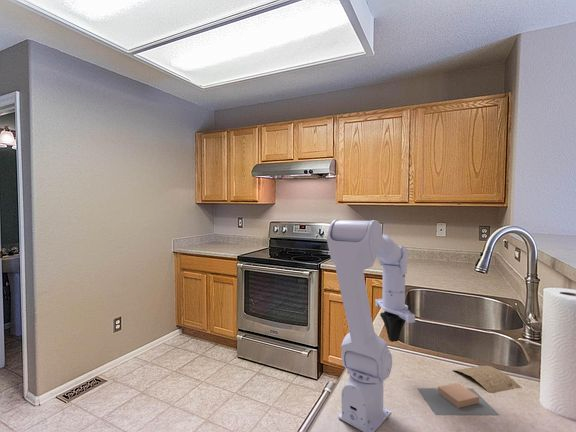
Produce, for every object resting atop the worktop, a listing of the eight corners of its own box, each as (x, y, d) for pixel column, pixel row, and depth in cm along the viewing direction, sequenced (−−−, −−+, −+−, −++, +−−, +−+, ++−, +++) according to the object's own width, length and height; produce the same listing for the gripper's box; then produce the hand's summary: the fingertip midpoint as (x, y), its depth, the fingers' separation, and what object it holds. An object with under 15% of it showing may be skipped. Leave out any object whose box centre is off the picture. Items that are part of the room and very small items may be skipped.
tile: (438, 393, 75) (458, 408, 69) (438, 386, 75) (458, 401, 69) (457, 389, 77) (478, 403, 71) (457, 382, 77) (479, 396, 71)
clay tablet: (525, 393, 76) (526, 383, 76) (495, 401, 73) (495, 390, 73) (474, 366, 90) (474, 357, 90) (447, 371, 87) (447, 362, 87)
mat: (435, 416, 67) (435, 414, 67) (416, 389, 77) (416, 388, 77) (499, 416, 67) (499, 414, 67) (472, 390, 77) (472, 388, 77)
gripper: (425, 296, 76) (425, 350, 76) (390, 282, 90) (390, 328, 90) (401, 298, 74) (400, 354, 75) (369, 284, 88) (369, 331, 88)
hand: (393, 340), depth 82 cm, fingers closed
